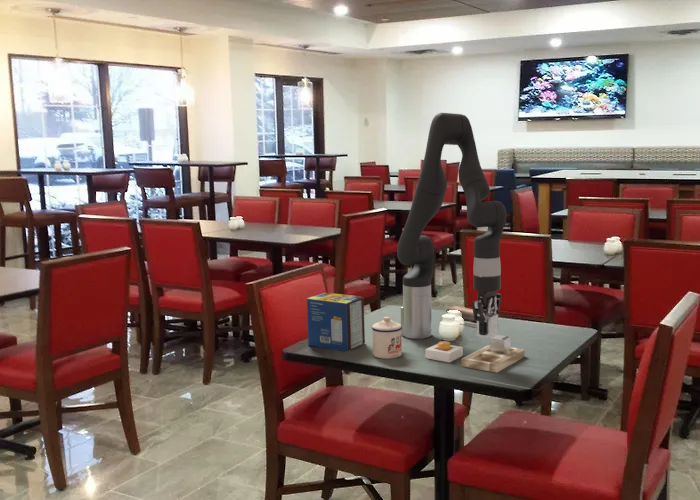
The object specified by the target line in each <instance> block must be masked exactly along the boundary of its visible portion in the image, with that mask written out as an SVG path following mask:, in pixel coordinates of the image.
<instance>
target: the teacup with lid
mask: <svg viewBox="0 0 700 500" xmlns="http://www.w3.org/2000/svg"><path fill="white" fill-rule="evenodd" d="M401 329H402V326H401V323H399V322H397V321H394V320H392V319H391V318H390V316H383V320H380V321H378V322H375V323H373V324H372V327H371V330H372V355H373V356H374V357H375V358H378V359H383V360H386V359H388V360H389V359H390V360H391V359H396V358H399V357H401V356H402V353H403V352H402V350H403V349H402V347H403V346H402V335H401Z"/></svg>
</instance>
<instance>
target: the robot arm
mask: <svg viewBox="0 0 700 500" xmlns="http://www.w3.org/2000/svg"><path fill="white" fill-rule="evenodd" d="M427 137H428V138H427V142H426V148H425V153H424V157H423V158H424V159H423V162H422V166H421V170H420V174H419V176H418V180H417V183H416V187H415V189H414V194H413V195H414V196H413V199H412V202H411V206H410V209H409V212H408V213H409V214H408V215H407V220H406V222H405V224H404V227H403V230H402V232H401V235H400V237H399V240H398V243H397V247H396V254H397V259H398V261H399V263H400V264H402V265H404V266H413V267H412V268H411V270H410V271H408V272H407V273H406V274H404V275H403V277H402V298H403V299H402V306H401V307H400V324H401V326H402V329H401V336H404V337H405V338H407V339H413V340H414V339H415V340H416V339H417V340H420V339H428V338H430V337H432V330H433V328H432V279H433V276H434V266H435V265H434V262H435V248H434V244H433V241H432V239H431V238H430V236H427V235H425V234H423V235H422V233H423V231H424V230H425V227H426V226H427V225H428V223H430V222H431V220H432V219H433V218H434V217H435V216H436V214H437V213H438V212H439V210H440V209H441V207H442V205H443V203H444V200H445V196H446V192H447V188H448V181H447V177H446V174H445V171H444V168H443V166H442V153H443V150H444V149H443V148H444V146H445V145H449V146H457V147H458V148H459V150H460V153H461V160H460V164H459V167H458V180H459V183H460V185H461V188H462V191H463V193H464V195H465V203H466V217H467V221H468V223H469V224H470V225H471V226H472V227H475V228H487V230H486V232H485V233H483V234H481V235H478V236H476V237H474V241H473V256H474V257H473V267H472V269H473V270H472V271H473V279H472V280H473V285H472V286H473V287H472V288H473V289H474V290H475V291H476V292H477V298H476V299H477V300H472V302H471V306H472V309H473V314H474V320H475V321H479V334H480V335H487V318H488V314H490V313H493V314H494V313H495V314H498V316H499V315H500V312H501V303H502V296H503V295H502V293H497V292H498V291H500V290H501V288H502V287H501V285H502V280H501V279H502V274H501V272H502V271H501V269H502V267H501V265H502V263H501V251H500V250H501V241H502V240H501V239H502V236H503V232H504V228H505V225H506V221H507V210H506V209H507V208H506V207H505V205H504V204H503V203H502V201H499V200H489V201H487V200H486V201H483V200H485V199H486V198H488V197H489V195H490V193H491V188H490V185H489V183H488V181H487V179H486V175H485V174H484V171H483V169H482V166H481V163H480V159H479V155H478V150H477V145H476V140H475V135H474V132H473V128H472V125H471V122H470V119H469V118H468V116H466V115H465V114H462V113H452V112H451V113H450V112H438V113H436V114H435V115H434V116H433V118H432V120H431V123H430V127H429V131H428V136H427ZM483 313H484V314H485V315H484V314H483ZM477 314H478V316H477Z"/></svg>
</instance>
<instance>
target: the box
mask: <svg viewBox="0 0 700 500" xmlns="http://www.w3.org/2000/svg"><path fill="white" fill-rule="evenodd" d="M424 350H425V352H424V353H425V359H429V360H434V361H438V362H439V361H440V362H444V363H451V362H453V361H455V360H457V359H459V358H461V357H463V355H464V353H463V351H464V347H463V346H460V345H459V346H458V345H455V344H454V345H453V344H450V350H448V351H443V350H438V343H436V344H434V345H432V346H430V347H427V348H425V349H424Z"/></svg>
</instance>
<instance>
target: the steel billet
mask: <svg viewBox="0 0 700 500" xmlns="http://www.w3.org/2000/svg"><path fill="white" fill-rule="evenodd" d="M483 314H484V313H483ZM484 315H485V314H484ZM477 316H478V315H477ZM497 335H499V315H498V314H495V313H494V314H493V313H490V314H488V318H487V335H480V334H479V321H477V328H476V337H480V338H485V339H490V338H493V337H495V336H497Z"/></svg>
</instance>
